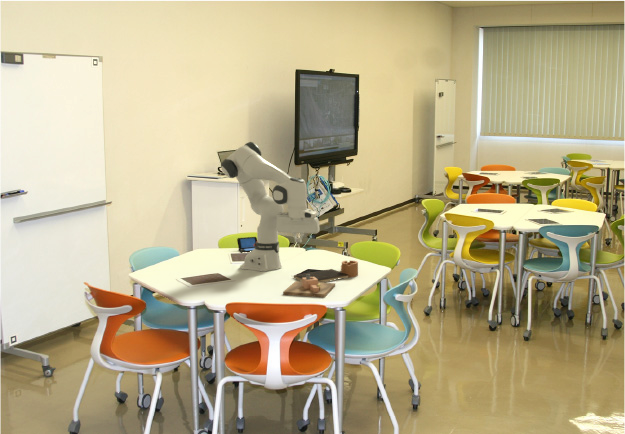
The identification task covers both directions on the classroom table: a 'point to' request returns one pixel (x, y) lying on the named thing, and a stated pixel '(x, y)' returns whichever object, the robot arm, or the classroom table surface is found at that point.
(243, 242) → the small monitor
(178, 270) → the classroom table surface
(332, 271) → the hardcover book
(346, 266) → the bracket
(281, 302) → the classroom table surface
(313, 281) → the orange square-holed tool
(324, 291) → the board
